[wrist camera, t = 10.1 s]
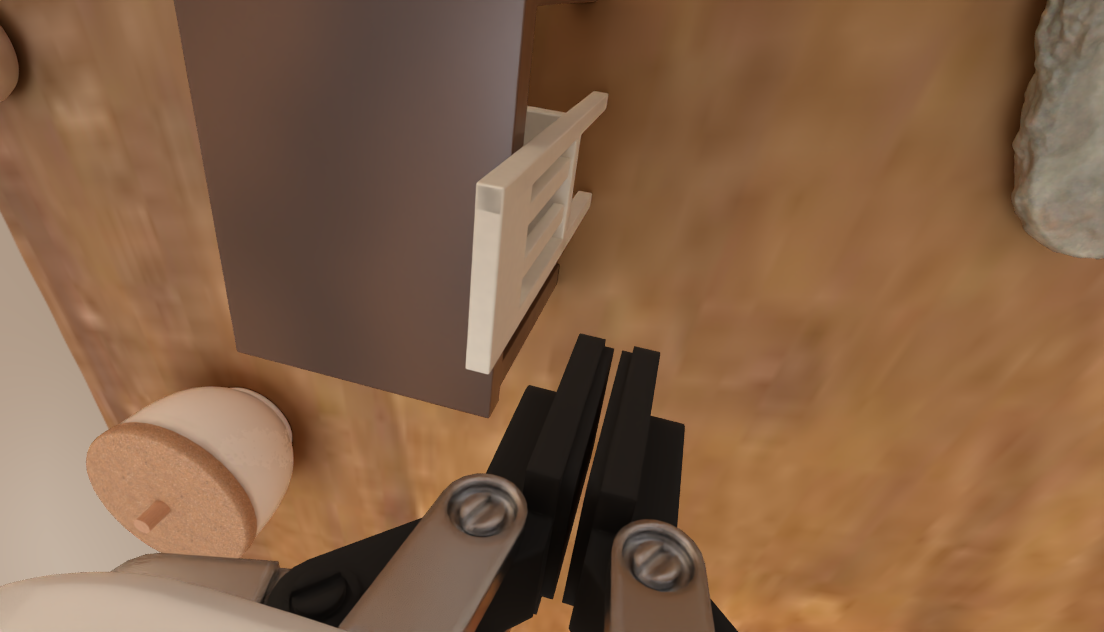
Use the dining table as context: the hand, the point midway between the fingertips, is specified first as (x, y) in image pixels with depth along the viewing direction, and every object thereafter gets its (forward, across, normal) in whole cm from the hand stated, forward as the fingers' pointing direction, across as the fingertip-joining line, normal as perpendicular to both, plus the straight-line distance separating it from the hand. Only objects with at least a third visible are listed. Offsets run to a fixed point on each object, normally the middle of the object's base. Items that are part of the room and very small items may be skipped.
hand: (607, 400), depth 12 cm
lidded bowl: (+21, +28, +28) cm, 45 cm away
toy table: (+21, +11, +1) cm, 24 cm away
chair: (+21, +7, +1) cm, 23 cm away
